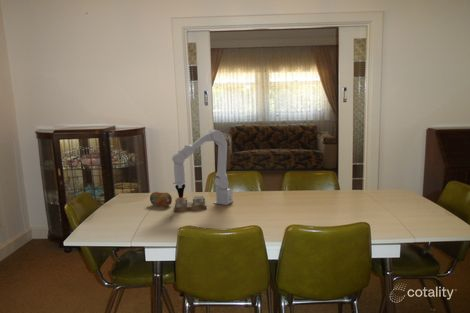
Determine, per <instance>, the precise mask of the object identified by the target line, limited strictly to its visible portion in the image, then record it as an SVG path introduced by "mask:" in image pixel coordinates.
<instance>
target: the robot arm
mask: <svg viewBox="0 0 470 313" xmlns="http://www.w3.org/2000/svg"><path fill="white" fill-rule="evenodd" d="M224 134H225V133H223V132H221V130H217V129H213V128H212V129H210V130H209V131H207V132H204V134H203V135H202V136H200V137H199V138H198V139H196V141H194V142H193V143H192V144H187V145H186V144H185V145H184V147H183V148H182V149H181V150H178V151H177V152H176V153H174V154H173V156H172V158H171V160H172V162H173V172H174V173H173V176H174V181H172V184H174V185H175V186H174V187H175V189H176V191H177V194H178V197H179V198H183V196H184V193H185V192H184V191H185V188H186V177H185V164H184V163H185V161H186V160H187V159H188V158H189V157H190V156H192V155H193V154H195V151H196V149H198V148H199V147H201V146H202V145H204V144H205V143H206V142H212V141H213V142H214V143H215V144H216V145H217V146H218V147H217V148H218V150H217V169H216V170H217V172H216V173H215V178H214V180H213V182H214V183H213V184H214V185H215V197H216V199H215V201H214V202H213V204H217V205H225V206H226V205H227V206H228V205H229V204H232V203H233V202H234V200H233V198H234V197H233V190H232V189H231V188H229V185H230V183H229V180H228V174H227V162H228V161H227V160H228V159H227V158H228V157H227V156H228V142H227V139H226V137H225V136H224Z"/></svg>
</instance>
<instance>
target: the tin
mask: <svg viewBox="0 0 470 313" xmlns="http://www.w3.org/2000/svg"><path fill="white" fill-rule="evenodd" d="M149 200H150V203H151V205H152V206H155V207H164V208H166V207H169V206H170V205H172V202H173V198H172V195H171V194H170V193H169V192H166V191H165V192H164V191H163V192H162V191H153V192H151V194H150V196H149Z"/></svg>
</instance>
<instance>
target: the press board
mask: <svg viewBox="0 0 470 313" xmlns="http://www.w3.org/2000/svg"><path fill="white" fill-rule="evenodd" d="M195 196H196V195H192V201H191V202H188V197H187V196H185V199H184V200H178V197H175V203H174V213H176V212H177V213H179V212H188V211H189V212H190V211H199V210H207V209H208V208H207V206H208V205H207V202H206V197H205V195H201V196H202V198H196V199H195Z"/></svg>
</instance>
